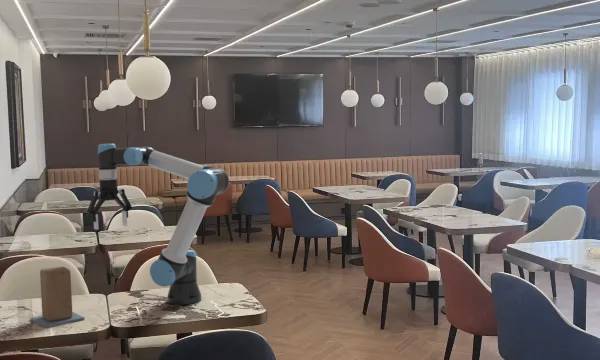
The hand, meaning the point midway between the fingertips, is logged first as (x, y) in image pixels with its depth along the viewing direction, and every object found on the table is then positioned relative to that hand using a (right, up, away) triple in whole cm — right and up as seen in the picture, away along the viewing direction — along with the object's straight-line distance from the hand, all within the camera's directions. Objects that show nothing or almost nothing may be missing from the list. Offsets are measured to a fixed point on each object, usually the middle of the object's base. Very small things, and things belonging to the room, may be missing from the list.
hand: (110, 227), depth 291 cm
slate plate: (-16, -36, -20) cm, 44 cm away
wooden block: (-16, -36, -20) cm, 44 cm away
